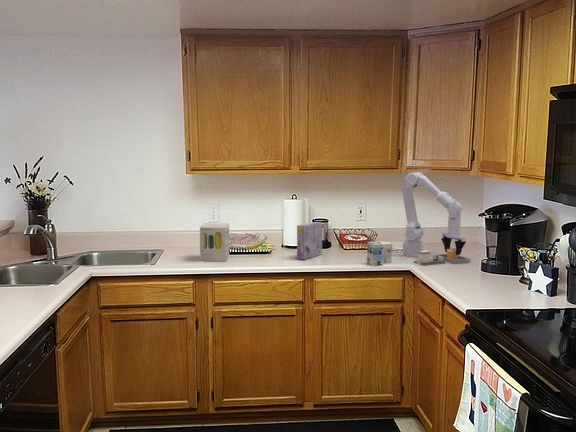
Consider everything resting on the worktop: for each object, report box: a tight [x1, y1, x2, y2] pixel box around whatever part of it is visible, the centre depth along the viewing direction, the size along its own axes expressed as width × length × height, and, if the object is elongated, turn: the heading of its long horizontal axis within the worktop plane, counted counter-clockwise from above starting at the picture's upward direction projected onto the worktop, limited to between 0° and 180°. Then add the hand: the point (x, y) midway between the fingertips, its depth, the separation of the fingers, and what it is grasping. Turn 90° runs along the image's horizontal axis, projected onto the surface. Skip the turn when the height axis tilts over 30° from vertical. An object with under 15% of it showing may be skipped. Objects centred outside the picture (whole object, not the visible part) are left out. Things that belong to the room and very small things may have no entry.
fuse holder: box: [412, 256, 448, 267], centre depth 273 cm, size 9×14×4 cm, turn 114°
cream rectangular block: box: [417, 250, 431, 263], centre depth 271 cm, size 3×5×6 cm
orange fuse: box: [446, 247, 458, 260], centre depth 278 cm, size 3×5×6 cm
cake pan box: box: [296, 221, 323, 261], centre depth 288 cm, size 19×5×18 cm, turn 146°
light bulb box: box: [366, 240, 393, 267], centre depth 273 cm, size 11×7×11 cm, turn 105°
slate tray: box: [434, 253, 471, 265], centre depth 278 cm, size 14×10×3 cm
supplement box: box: [199, 222, 230, 263], centre depth 282 cm, size 13×13×18 cm
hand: (452, 253), depth 278 cm, fingers open, 7 cm apart
